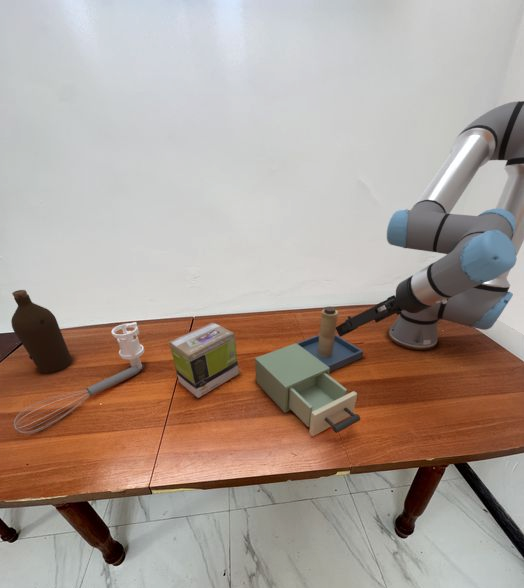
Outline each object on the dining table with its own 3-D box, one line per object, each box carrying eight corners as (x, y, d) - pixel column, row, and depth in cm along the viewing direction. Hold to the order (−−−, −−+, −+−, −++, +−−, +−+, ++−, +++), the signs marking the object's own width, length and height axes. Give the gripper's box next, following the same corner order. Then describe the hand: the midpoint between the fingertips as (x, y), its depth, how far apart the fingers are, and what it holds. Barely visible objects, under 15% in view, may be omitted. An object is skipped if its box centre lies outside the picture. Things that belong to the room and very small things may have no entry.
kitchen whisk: (150, 372, 91) (145, 355, 87) (27, 444, 69) (13, 426, 65) (139, 365, 94) (134, 348, 90) (17, 432, 72) (4, 414, 68)
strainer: (150, 369, 92) (138, 327, 83) (127, 377, 89) (112, 334, 81) (145, 358, 97) (133, 317, 89) (123, 365, 94) (108, 323, 86)
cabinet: (326, 392, 81) (330, 367, 76) (284, 413, 75) (285, 387, 70) (295, 366, 91) (296, 342, 87) (255, 382, 86) (254, 357, 81)
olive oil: (80, 354, 99) (49, 284, 86) (64, 374, 91) (26, 298, 77) (48, 356, 99) (12, 285, 86) (29, 375, 90) (-16, 300, 77)
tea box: (219, 361, 94) (213, 320, 86) (239, 375, 88) (236, 332, 80) (178, 383, 86) (167, 340, 78) (197, 400, 80) (188, 355, 72)
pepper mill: (325, 347, 99) (330, 304, 90) (335, 354, 95) (341, 309, 86) (314, 352, 97) (318, 307, 88) (324, 359, 93) (329, 313, 84)
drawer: (366, 425, 70) (371, 404, 66) (325, 449, 64) (328, 428, 61) (317, 384, 83) (319, 365, 79) (279, 401, 77) (279, 381, 73)
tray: (329, 336, 106) (329, 330, 104) (362, 357, 94) (363, 351, 93) (289, 351, 98) (289, 345, 97) (320, 376, 87) (320, 369, 86)
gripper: (390, 323, 55) (328, 351, 74) (465, 292, 66) (394, 324, 85) (373, 287, 56) (316, 324, 75) (450, 263, 66) (382, 301, 86)
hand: (357, 324), depth 80 cm, fingers open, 13 cm apart
